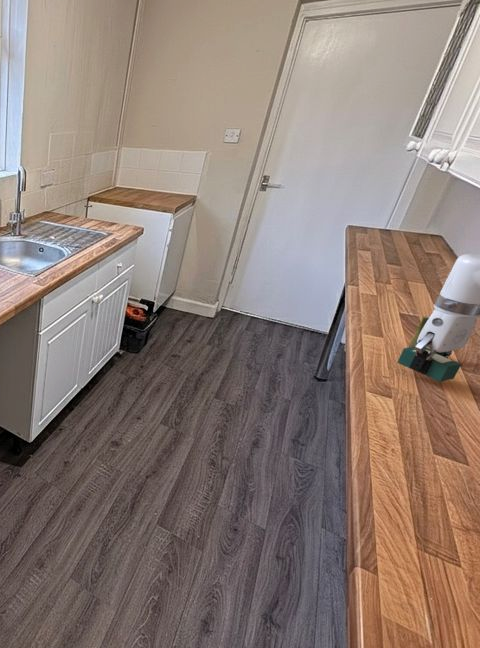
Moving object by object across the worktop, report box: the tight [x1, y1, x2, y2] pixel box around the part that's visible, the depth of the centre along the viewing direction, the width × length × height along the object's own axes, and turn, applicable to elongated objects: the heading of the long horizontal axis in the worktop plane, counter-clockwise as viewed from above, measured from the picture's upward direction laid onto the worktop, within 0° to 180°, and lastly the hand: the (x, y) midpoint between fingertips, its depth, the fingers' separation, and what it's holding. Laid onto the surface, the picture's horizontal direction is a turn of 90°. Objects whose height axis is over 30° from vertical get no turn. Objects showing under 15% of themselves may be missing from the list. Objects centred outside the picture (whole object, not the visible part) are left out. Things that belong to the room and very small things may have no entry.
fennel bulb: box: [408, 315, 433, 351], centre depth 117 cm, size 6×5×12 cm
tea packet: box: [396, 346, 463, 383], centre depth 105 cm, size 9×5×5 cm, turn 15°
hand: (425, 368), depth 106 cm, fingers closed on tea packet, 5 cm apart
